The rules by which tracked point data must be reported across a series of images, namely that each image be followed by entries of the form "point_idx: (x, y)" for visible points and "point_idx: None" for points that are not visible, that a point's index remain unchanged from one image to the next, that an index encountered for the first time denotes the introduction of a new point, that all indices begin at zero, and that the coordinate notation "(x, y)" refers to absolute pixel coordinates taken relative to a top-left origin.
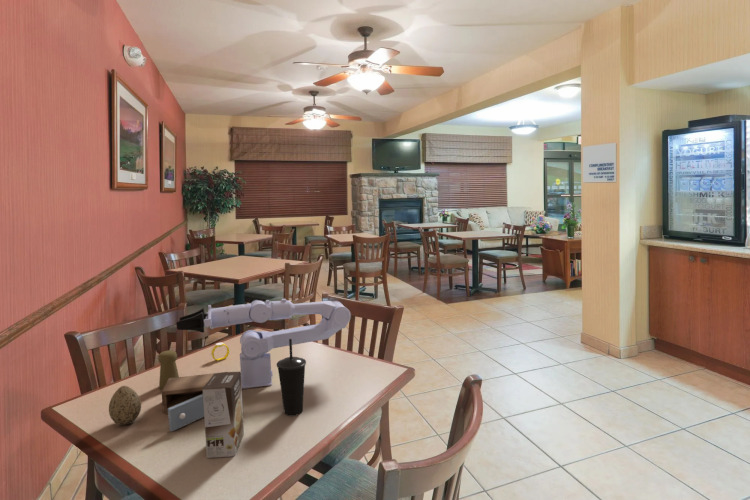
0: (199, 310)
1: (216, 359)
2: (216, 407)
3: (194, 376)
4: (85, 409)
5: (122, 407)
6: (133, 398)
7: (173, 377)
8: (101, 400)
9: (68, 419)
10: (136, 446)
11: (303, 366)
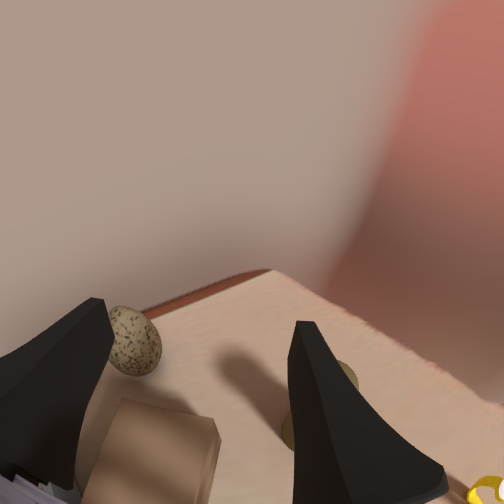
0: (386, 460)
1: (467, 497)
2: None
3: (185, 487)
4: (245, 304)
5: None
6: None
7: (293, 432)
8: (276, 317)
9: (216, 293)
10: None
11: None
